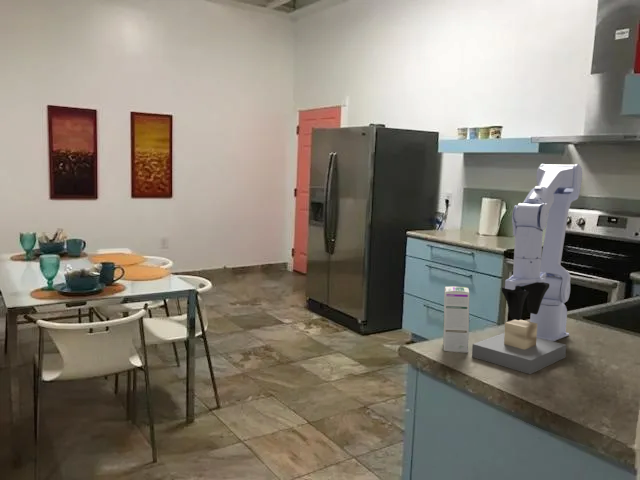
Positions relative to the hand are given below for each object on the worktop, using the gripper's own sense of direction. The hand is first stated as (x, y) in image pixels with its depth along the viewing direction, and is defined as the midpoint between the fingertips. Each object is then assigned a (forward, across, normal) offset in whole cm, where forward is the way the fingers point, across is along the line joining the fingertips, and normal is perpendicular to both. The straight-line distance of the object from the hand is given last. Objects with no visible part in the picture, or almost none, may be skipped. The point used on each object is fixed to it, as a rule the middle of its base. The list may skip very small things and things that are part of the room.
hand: (524, 316), depth 125 cm
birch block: (+6, -2, 0) cm, 7 cm away
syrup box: (+10, -8, +13) cm, 18 cm away
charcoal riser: (+9, -2, 0) cm, 9 cm away
